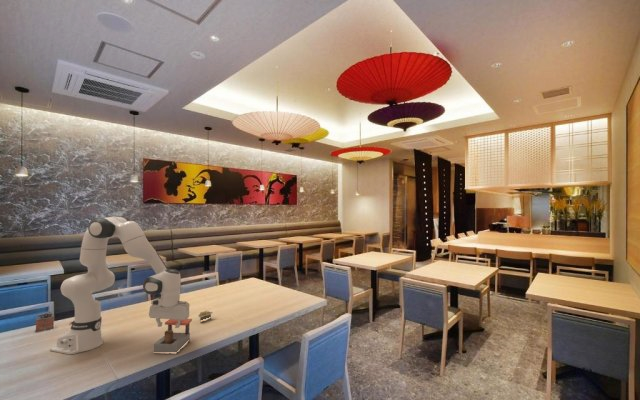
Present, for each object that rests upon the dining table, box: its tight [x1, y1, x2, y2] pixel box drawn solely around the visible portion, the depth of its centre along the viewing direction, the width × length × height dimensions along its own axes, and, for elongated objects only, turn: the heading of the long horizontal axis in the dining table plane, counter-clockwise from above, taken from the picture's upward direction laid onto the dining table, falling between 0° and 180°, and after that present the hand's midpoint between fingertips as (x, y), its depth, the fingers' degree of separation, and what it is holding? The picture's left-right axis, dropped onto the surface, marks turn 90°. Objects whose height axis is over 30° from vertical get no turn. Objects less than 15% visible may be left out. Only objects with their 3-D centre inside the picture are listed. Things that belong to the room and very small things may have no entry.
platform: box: [197, 310, 214, 321], centre depth 192 cm, size 12×18×7 cm, turn 147°
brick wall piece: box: [35, 312, 55, 333], centre depth 173 cm, size 8×3×10 cm, turn 135°
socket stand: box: [152, 318, 193, 352], centre depth 156 cm, size 12×16×12 cm
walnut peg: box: [163, 329, 174, 344], centre depth 151 cm, size 4×4×10 cm
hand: (168, 326), depth 152 cm, fingers open, 8 cm apart
